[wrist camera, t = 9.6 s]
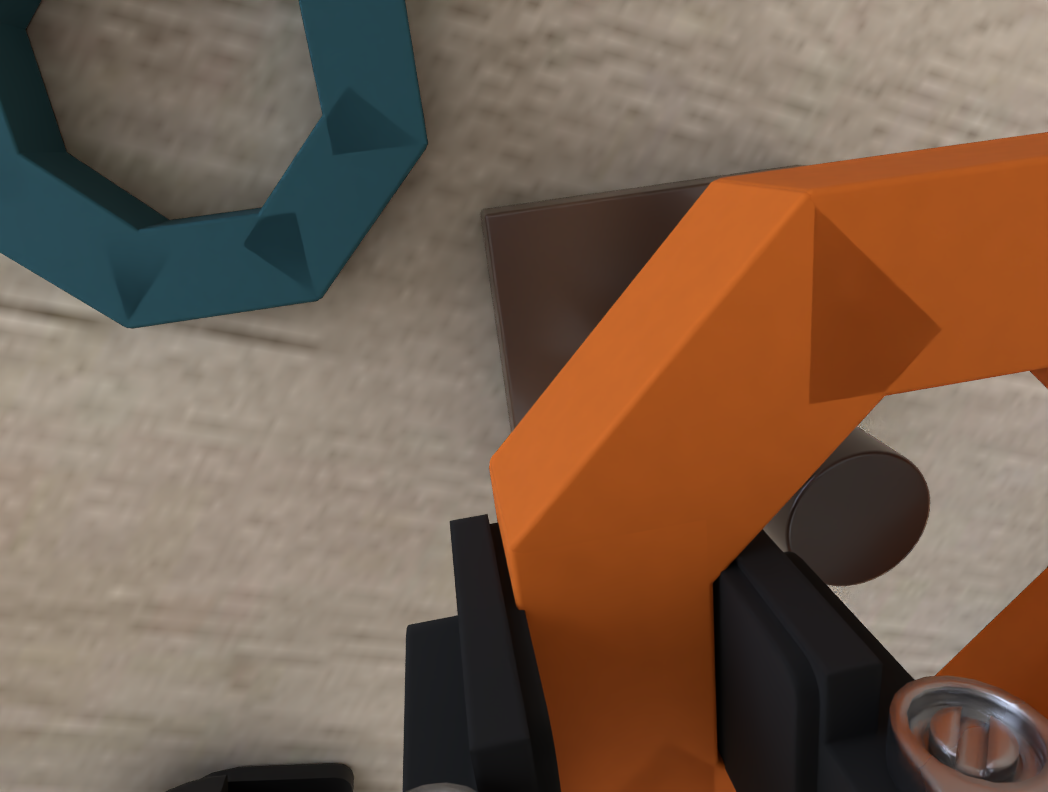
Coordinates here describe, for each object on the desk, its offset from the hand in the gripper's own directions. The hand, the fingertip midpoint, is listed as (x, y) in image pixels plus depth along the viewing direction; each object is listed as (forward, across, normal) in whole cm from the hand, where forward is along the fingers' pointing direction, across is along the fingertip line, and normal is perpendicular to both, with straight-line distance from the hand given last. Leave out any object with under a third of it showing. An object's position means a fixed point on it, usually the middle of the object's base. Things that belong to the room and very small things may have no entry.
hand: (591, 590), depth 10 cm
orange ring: (0, -4, 0) cm, 4 cm away
